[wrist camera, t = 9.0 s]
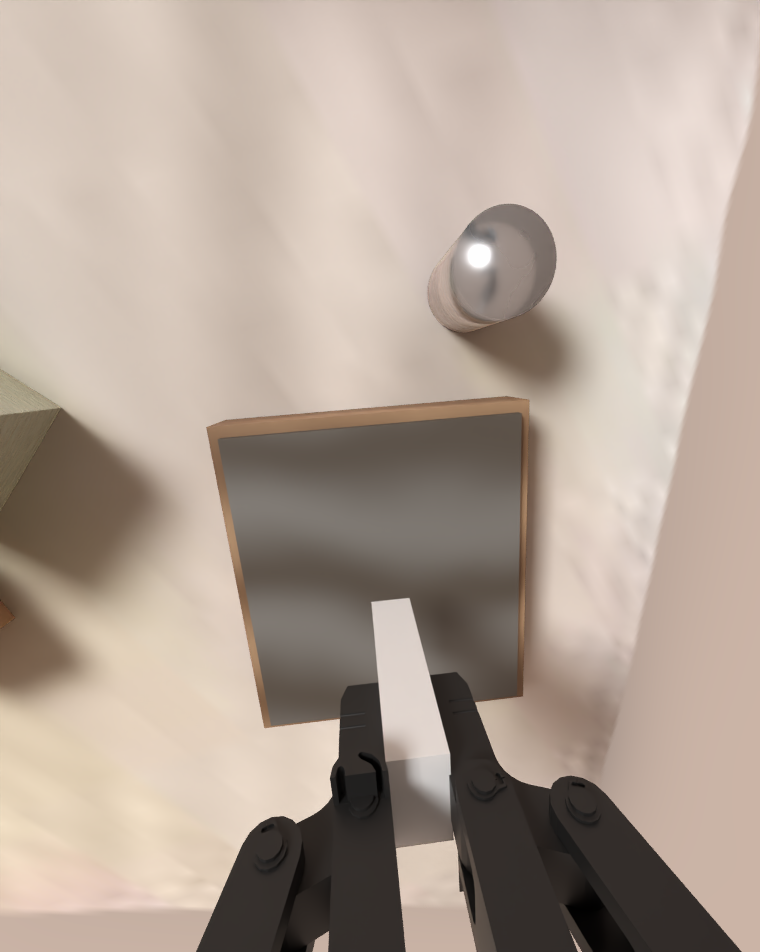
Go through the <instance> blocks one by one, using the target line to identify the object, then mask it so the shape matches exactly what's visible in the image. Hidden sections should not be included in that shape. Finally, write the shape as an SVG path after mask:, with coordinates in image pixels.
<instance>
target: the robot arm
mask: <svg viewBox="0 0 760 952" xmlns="http://www.w3.org/2000/svg"><path fill="white" fill-rule="evenodd" d="M371 603H372V614H373V626H374V637H375V648H376V660H377V671H378V682H377V683H368V684H360V685H352V686H347V688H346V690H345V692H344V694H343V696H342V698H341V704H340V734H339V758H338V760H337V761H336V763H335V764H334V766H333V768H332V772H331V776H330V781H331V788H332V795H333V796H332V798H331V799H330V801H329V802H328V803H327V804H326V805H325V806H324V807H323V808H322V809H321V810H320V811H319V812H317V813H315V814H314V815H312V816H310V817H308V818H306V819H304V820H303V821H301V822H299V823H297V824H296V823H295V822H294V821H293V820H291V819H289V818H286V817H284V816H280V817H271V818H269V819H267V820H265V821H263V822H261V823H260V824H259V825H258V826H256V827H255V828H254V829H253V830H252V831H251V832H250V833H249V835H248V837H247V838H246V840H245V842H244V843H243V845H242V847H241V849H240V851H239V854H238V856H237V858H236V861H235V863H234V865H233V868H232V870H231V872H230V875H229V877H228V879H227V882H226V884H225V886H224V888H223V891H222V893H221V895H220V898H219V900H218V902H217V905H216V907H215V909H214V912H213V914H212V916H211V919H210V921H209V923H208V926H207V928H206V930H205V932H204V935H203V937H202V939H201V942H200V944H199V946H198V949H197V951H196V952H312V951H313V947H314V942H315V939H317V938H318V937H320V936H322V935H323V934H325V933H326V932H328V931H329V948H328V952H406V951H405V942H404V930H403V920H402V909H401V899H400V888H399V878H398V868H397V857H396V848H399V847H406V846H414V845H421V844H428V843H435V842H442V841H449V840H454V838H453V831H454V836H455V840H456V845H457V849H458V863H459V887H460V892H462V891H464V895H465V899H466V904H467V909H468V913H469V918H470V923H471V927H472V932H473V936H474V941H475V946H476V950H477V952H578V951H577V949H576V946H575V944H574V941H573V938H572V936H571V934H570V932H571V933H572V935H573V937H574V939H575V940H576V942H577V943H578V946H579V947H580V949H581V951H582V952H741V951H740V950H739V948H738V947H737V946H736V945H735V944H734V942H733V941H732V940H731V939H730V938H729V937H728V936H727V934H726V933H725V932H724V931H723V930H722V929H721V927H720V926H719V925H718V924H717V923H716V921H715V920H714V919H713V918H712V917H711V916H710V915H709V913H708V912H707V911H706V910H705V909H704V908H703V906H702V905H701V904H700V903H699V902H698V901H697V899H696V898H695V897H694V896H693V895H692V894H691V892H690V891H689V890H688V889H687V888H686V887H685V886H684V884H683V883H682V882H681V881H680V880H679V879H678V877H677V876H676V875H675V874H674V873H673V872H672V871H671V869H670V868H669V867H668V866H667V865H666V863H665V862H664V861H663V860H662V859H661V858H660V856H659V855H658V854H657V853H656V852H655V851H654V850H653V848H652V847H651V846H650V845H649V844H648V843H647V841H646V840H645V839H644V838H643V837H642V836H641V834H640V833H639V832H638V831H637V830H636V829H635V827H634V826H633V825H632V824H631V823H630V822H629V821H628V820H627V818H626V817H625V816H624V815H623V814H622V812H621V811H620V810H619V809H618V808H617V807H616V806H615V804H614V803H613V802H612V801H611V800H610V799H609V797H608V796H607V795H606V794H605V793H604V792H603V791H602V790H601V789H599V788H598V787H597V786H596V785H595V784H593V783H591V782H589V781H587V780H585V779H584V778H580V777H575V776H566V777H561V778H559V779H558V780H557V781H555V782H554V783H553V785H552V788H551V789H548V788H543V787H539V786H534V785H529V784H526V783H523V782H520V781H518V780H517V779H515V778H513V777H511V776H510V775H509V774H508V773H507V772H505V771H504V769H503V768H502V767H501V766H500V765H499V763H498V761H497V759H496V757H495V755H494V752H493V750H492V747H491V744H490V742H489V739H488V736H487V734H486V731H485V728H484V726H483V723H482V720H481V718H480V715H479V713H478V711H477V707H476V705H475V702H474V700H473V697H472V694H471V691H470V689H469V686H468V683H467V682H466V681H465V680H464V679H463V678H462V677H461V676H460V675H459V674H458V673H457V672H452V673H443V674H435V675H429V671H428V667H427V664H426V660H425V656H424V652H423V648H422V644H421V641H420V637H419V633H418V629H417V625H416V621H415V618H414V614H413V610H412V606H411V602H410V598H404V599H394V600H385V601H376V602H371ZM569 930H570V931H569Z"/></svg>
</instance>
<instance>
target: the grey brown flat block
mask: <svg viewBox="0 0 760 952" xmlns="http://www.w3.org/2000/svg"><path fill="white" fill-rule="evenodd" d="M206 428H207V433H208V438H209V443H210V448H211V454H212V459H213V464H214V469H215V474H216V479H217V485H218V490H219V495H220V500H221V505H222V511H223V516H224V521H225V526H226V531H227V536H228V542H229V547H230V552H231V557H232V562H233V568H234V573H235V578H236V583H237V588H238V593H239V599H240V604H241V609H242V614H243V619H244V625H245V630H246V635H247V640H248V645H249V650H250V656H251V661H252V666H253V671H254V676H255V682H256V687H257V692H258V697H259V702H260V707H261V713H262V718H263V723H264V728H269V727H277V726H285V725H294V724H302V723H310V722H318V721H326V720H334V719H340V704H341V698H342V696H343V694H344V692H345V690H346V688H347V686H352V685H360V684H368V683H377V682H378V671H377V660H376V648H375V637H374V626H373V614H372V603H371V602H376V601H385V600H394V599H404V598H410V602H411V606H412V610H413V614H414V618H415V621H416V625H417V629H418V633H419V637H420V641H421V644H422V648H423V652H424V656H425V660H426V664H427V667H428V671H429V675H435V674H443V673H452V672H457V673H458V674H459V675H460V676H461V677H462V678H463V679H464V680H465V681H466V682H467V683H468V686H469V689H470V691H471V694H472V697H473V700H474V702H480V701H489V700H497V699H505V698H513V697H521V696H523V664H524V618H525V572H526V526H527V481H528V435H529V400H527V399H520V398H514V397H507V396H505V397H494V398H482V399H470V400H458V401H446V402H434V403H422V404H411V405H399V406H387V407H375V408H363V409H351V410H340V411H328V412H316V413H304V414H292V415H280V416H269V417H257V418H245V419H233V420H225V421H222V422H219V423H217V424H214V425H211V426H209V427H206Z"/></svg>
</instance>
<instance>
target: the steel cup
mask: <svg viewBox="0 0 760 952" xmlns="http://www.w3.org/2000/svg"><path fill="white" fill-rule="evenodd" d="M555 269H556V247H555V242H554V238H553V236H552V233H551V231H550V229H549V227H548V226H547V224H546V223H545V222H544V220H543V219H542V218H541V217H540V216H539V215H538V214H536V213H535V212H534V211H532V210H530V209H528V208H526V207H524V206H521V205H516V204H503V205H498V206H494V207H491V208H489V209H487V210H485V211H484V212H482V213H481V214H479V215H478V216H477V217H476V218H474V220H473V221H472V222H471V223H470V224H469V225H468V226H467V228H466V229H465V230H464V231H463V233H462V234H461V235H460V236H459V238H458V239H457V240H456V241H455V243H454V244H453V245H452V246H451V248H450V249H449V250H448V251H447V253H446V254H445V255H444V256H443V258H442V259H441V260H440V261H439V263H438V264H437V265H436V267H435V268H434V270H433V272H432V274H431V277H430V280H429V283H428V302H429V306H430V308H431V311H432V313H433V315H434V316H435V318H436V319H437V320H438V321H439V322H440V323H441V324H442V325H443V326H445V327H446V328H448V329H450V330H452V331H456V332H472V331H475V330H478V329H481V328H484V327H487V326H490V325H493V324H496V323H499V322H502V321H505V320H508V319H511V318H513V317H516V316H519V315H521V314H524V313H526V312H527V311H529V310H530V309H532V308H533V307H534V306H535V305H537V303H538V302H539V301H540V300H541V299H542V298H543V297H544V295H545V294H546V292H547V291H548V289H549V287H550V285H551V283H552V280H553V277H554V273H555Z"/></svg>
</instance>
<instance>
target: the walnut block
mask: <svg viewBox="0 0 760 952" xmlns="http://www.w3.org/2000/svg"><path fill="white" fill-rule="evenodd" d="M14 618H15V617H14V616H13V615H12V613H11V612H10V611H9V610H8V609H7V607H6V606H5V605H4V604H3V603H2V602H1V600H0V629H1V628H2V627H3V626H5V625H6V624H7V623H9V622H10V621H12V620H13V619H14Z"/></svg>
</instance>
